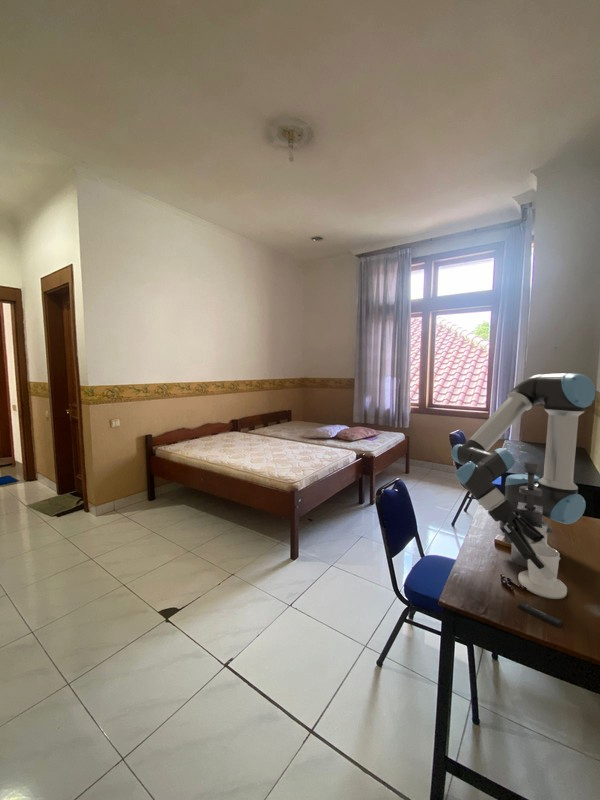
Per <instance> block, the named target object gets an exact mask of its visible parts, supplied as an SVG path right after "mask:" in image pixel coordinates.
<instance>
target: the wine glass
mask: <svg viewBox="0 0 600 800" xmlns="http://www.w3.org/2000/svg"><path fill="white" fill-rule="evenodd" d="M539 465H540V463H538V462H533V461H524V464H523V466H524V468H523V472H524V473H527V475H528V486H521V487H519V492H520V493H521V494H523V495H527V502H526V508H527V509H532V510H534V497H540V496H542V490H541V489H539V488H536V487H534V476H535V475H537V474H539V469H540V466H539Z"/></svg>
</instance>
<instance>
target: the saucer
mask: <svg viewBox="0 0 600 800" xmlns="http://www.w3.org/2000/svg"><path fill="white" fill-rule="evenodd" d="M518 582H519V584H520V585H521V586H522V587H523V586H524V587H526V588H527V589H526V591H529V592H530V593H532V594H534V595H537V596H539V597H543V598H547V599H553V600H560V599H564V598H565V597H566V596H567V595H568V587H567V586H566V584H565V583H564V582H562V581H561V580H560V579H559V578H558V577H557V578H556V586H555V587H554V588H543V587H540V586H538V585H536V584H534V583H532V582H531V581H530V580H529V577H528V569H527V570H522V571H519V573H518ZM524 587H523V588H524Z"/></svg>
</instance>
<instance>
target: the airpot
mask: <svg viewBox="0 0 600 800" xmlns="http://www.w3.org/2000/svg"><path fill="white" fill-rule="evenodd" d="M517 512H518V513H519V514H520V515H521V516H522V517H523V518H524V519H525V520H526V521H528V522H529V523H530V524H531V525H532V526H533V527H535V528H536V529H537V530H538V531H539V532H540V533H541V535H544V537H545V538H543V539H542V540H544V541H545V542H546V543H547V544H548V533H549V534H553V528H552V527H550V526H549V527H548V523H547V522H546V521H544V520H543V517H544V516H543V506H537V505H534V510H532V509H527V508H526V503H521V502H519V503H518V507H517ZM524 536H525V538H526V539H527V541H528V542H529V544H535V543H537V542H534V541H533V540H532V539H530V538H529V537H527V536H526V535H525V534H524ZM504 543H509V544H511V553H510V555H511V556H510V557H511V560H512V561H514V562H515V563H517V564H518V565H520V566H522V567H526V568H528V560H525V559H524V558H523V556H522V555H521V553H520V552H519V551H518V549H517V548H516V546H515V545H514V543H513V542H512V541H511V539H510V538H509V536H508V535H507V534H506V533H505V532H504Z"/></svg>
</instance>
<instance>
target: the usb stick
mask: <svg viewBox="0 0 600 800" xmlns="http://www.w3.org/2000/svg"><path fill="white" fill-rule="evenodd" d="M518 608H519V609H520V610H521V611H523V612H526V613H527V614H530V615H532V616H533V617H536V618H538V619H540V620H542V621H544V622H546V623H548V624H550V625H553V626H555V627H557V628H560V627H561V626H562V625H563V621H562V620H561V619H559V618H556V617H554V616H552V615H550V614H549V613H545V612H544V611H542V610H540V609H537V608H536V607H533V606H531V605H529V604H527V603H524V602H520V603H519V605H518Z"/></svg>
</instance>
